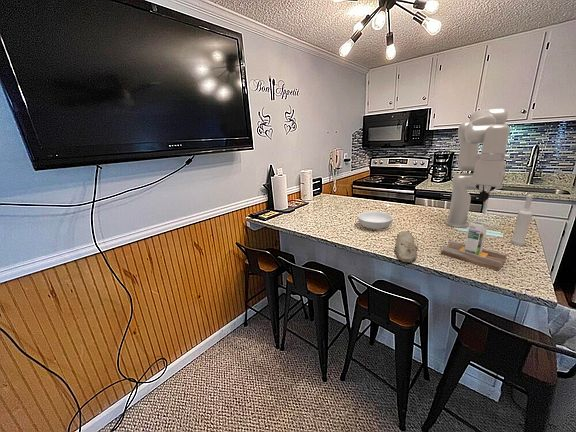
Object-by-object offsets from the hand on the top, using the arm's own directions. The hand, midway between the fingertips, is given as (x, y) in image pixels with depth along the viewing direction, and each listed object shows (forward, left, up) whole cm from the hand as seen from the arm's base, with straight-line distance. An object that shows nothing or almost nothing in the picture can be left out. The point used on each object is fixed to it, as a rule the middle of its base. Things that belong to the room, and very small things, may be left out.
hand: (482, 200), depth 106 cm
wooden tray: (+1, 0, -27) cm, 27 cm away
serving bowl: (-5, -53, -27) cm, 60 cm away
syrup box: (0, 0, -25) cm, 25 cm away
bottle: (-30, +11, -27) cm, 42 cm away
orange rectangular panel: (+1, 0, -25) cm, 26 cm away
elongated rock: (+11, -26, -28) cm, 39 cm away
